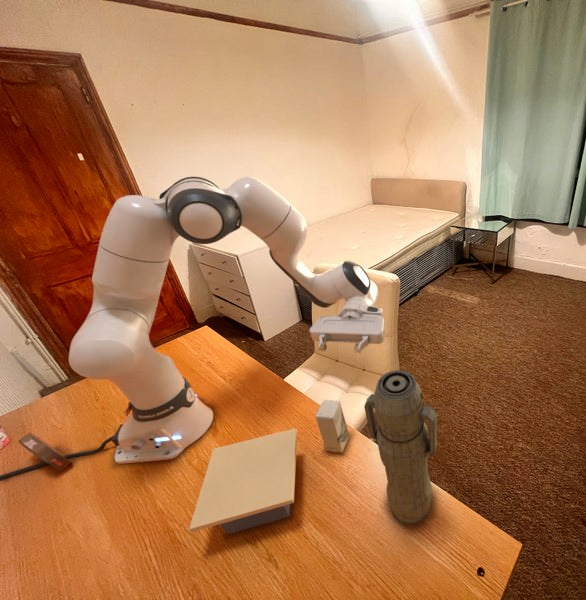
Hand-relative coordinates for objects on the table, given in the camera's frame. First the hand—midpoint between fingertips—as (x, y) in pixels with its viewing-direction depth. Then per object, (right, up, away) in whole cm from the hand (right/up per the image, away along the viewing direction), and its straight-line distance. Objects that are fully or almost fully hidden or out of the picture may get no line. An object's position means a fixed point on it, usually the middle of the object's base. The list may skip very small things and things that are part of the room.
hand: (339, 350), depth 77 cm
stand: (-15, -31, -9) cm, 35 cm away
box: (0, -24, +1) cm, 24 cm away
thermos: (+17, -30, -12) cm, 37 cm away
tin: (-73, -29, +3) cm, 79 cm away
